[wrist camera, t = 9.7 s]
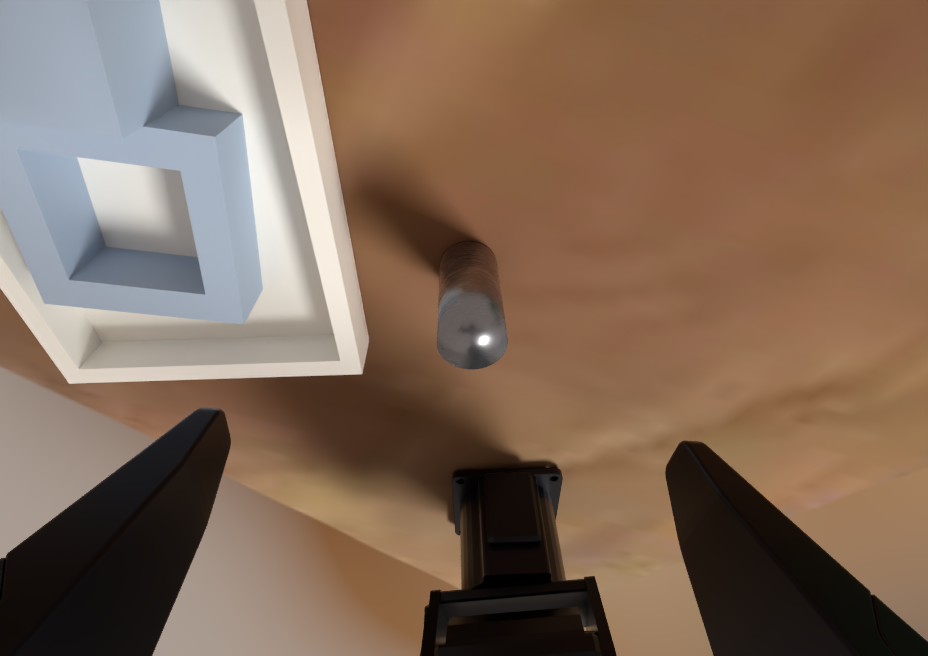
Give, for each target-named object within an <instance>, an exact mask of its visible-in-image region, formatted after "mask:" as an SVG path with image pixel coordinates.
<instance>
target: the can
mask: <svg viewBox="0 0 928 656" xmlns="http://www.w3.org/2000/svg"><path fill="white" fill-rule="evenodd" d="M507 344H508V338H507V331H506V324H505V317H504V310H503V302H502V295H501V288H500V281H499V274H498V267H497V261H496V258H495V255H494V254H493V252H492V251H491V250H490V249H489V248H488V247H486V246H485V245H483V244H481V243H478V242H473V241H465V242H460V243H457V244H455V245H453V246H451V247H450V248H449V249H447V250H446V252H445V253H444V254H443V256H442V258H441V261H440V275H439V304H438V332H437V347H438V350H439V352H440V354H441V356H442V357H443V358H444V359H445V360H446V361H447V362H448V363H450V364H452V365H454V366H456V367H459V368H463V369H479V368H484V367H487V366H489V365H491V364H493V363H495V362H496V361H498V360H499V359H500V358H501V357H502V356H503V354H504V353H505V351H506V348H507Z"/></svg>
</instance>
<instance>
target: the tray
mask: <svg viewBox="0 0 928 656" xmlns="http://www.w3.org/2000/svg"><path fill="white" fill-rule="evenodd" d="M159 1H160V7H161V12H162V17H163V22H164V28H165V33H166V38H167V44H168V49H169V54H170V59H171V65H172V70H173V75H174V81H175V86H176V91H177V96H178V102H179V105H184V106H191V107H198V108H204V109H211V110H218V111H225V112H231V113H238V114H243V122H244V130H245V139H246V148H247V156H248V165H249V173H250V182H251V191H252V199H253V208H254V216H255V225H256V234H257V242H258V251H259V259H260V268H261V276H262V285H263V290H262V292H261V294H260V296H259V298H258V299H257V301H256V303H255V305H254V307H253V309H252V310H251V312H250V314H249V316H248V318H247V320H246V322H245V323H244V324H236V323H226V322H216V321H207V320H197V319H187V318H177V317H168V316H158V315H148V314H139V313H129V312H119V311H110V310H100V309H90V308H81V307H71V306H61V305H52V304H44V302H43V300H42V298H41V295H40V293H39V291H38V289H37V287H36V284H35V282H34V280H33V278H32V275H31V273H30V271H29V269H28V267H27V264H26V262H25V260H24V258H23V255H22V253H21V251H20V249H19V247H18V244H17V242H16V240H15V238H14V236H13V233H12V231H11V229H10V227H9V224H8V222H7V220H6V218H5V216H4V213H3V211H2V209H1V207H0V288H1V290H2V291H3V292H4V294H5V295H6V297H7V298H8V299H9V301H10V302H11V304H12V305H13V306H14V308H15V309H16V310H17V312H18V313H19V315H20V316H21V317H22V319H23V320H24V322H25V323H26V324H27V326H28V327H29V328H30V330H31V331H32V333H33V334H34V335H35V337H36V338H37V340H38V341H39V342H40V344H41V345H42V347H43V348H44V349H45V351H46V352H47V353H48V355H49V356H50V358H51V359H52V360H53V362H54V363H55V365H56V366H57V367H58V369H59V370H60V371H61V373H62V374H63V376H64V377H65V378H66V380H67V381H68V383H69V384H71V383H103V382H134V381H166V380H198V379H229V378H261V377H292V376H324V375H355V374H362V373H363V369H364V364H365V359H366V354H367V349H368V344H369V336H368V331H367V325H366V320H365V314H364V309H363V303H362V298H361V293H360V287H359V282H358V276H357V271H356V266H355V260H354V255H353V249H352V244H351V239H350V233H349V228H348V222H347V217H346V211H345V206H344V201H343V195H342V190H341V184H340V179H339V174H338V168H337V163H336V157H335V152H334V146H333V141H332V136H331V130H330V125H329V119H328V114H327V109H326V103H325V98H324V92H323V87H322V82H321V76H320V71H319V65H318V60H317V54H316V49H315V44H314V38H313V33H312V27H311V22H310V17H309V11H308V6H307V0H159ZM77 159H78V162H79V165H80V168H81V171H82V174H83V177H84V180H85V183H86V186H87V190H88V193H89V196H90V199H91V202H92V205H93V208H94V211H95V214H96V217H97V220H98V223H99V226H100V229H101V232H102V235H103V238H104V241H105V244H106V247H114V248H122V249H131V250H140V251H148V252H157V253H165V254H174V255H183V256H191V257H198V255H197V250H196V245H195V240H194V235H193V230H192V226H191V221H190V216H189V211H188V206H187V201H186V196H185V191H184V186H183V181H182V176H181V171H177V170H170V169H162V168H155V167H148V166H140V165H133V164H125V163H118V162H110V161H103V160H95V159H88V158H80V157H77Z"/></svg>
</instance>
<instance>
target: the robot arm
mask: <svg viewBox="0 0 928 656" xmlns="http://www.w3.org/2000/svg"><path fill="white" fill-rule="evenodd" d="M230 445H231V438H230V433H229V429H228V425H227V421H226V417H225V413H224V412H223V410H221V409H215V408H199V409H197V410H195V411H194V412H193V413H191V414H190V415H189V416H187V417H186V418H185V419H183V420H182V421H181V422H180V423H178V424H177V425H176V426H174V427H173V428H172V429H170V430H169V431H168V432H166V433H165V434H164V435H162V436H161V437H160V438H159V439H157V440H156V441H155V442H153V443H152V444H151V445H149V446H148V447H147V448H145V449H144V450H143V451H141V452H140V453H139V454H137V455H136V456H135V457H134V458H132V459H131V460H130V461H128V462H127V463H126V464H124V465H123V466H122V467H120V468H119V469H118V470H116V471H115V472H114V473H113V474H111V475H110V476H109V477H107V478H106V479H105V480H103V481H102V482H101V483H99V484H98V485H97V486H96V487H94V488H93V489H92V490H90V491H89V492H88V493H86V494H85V495H84V496H82V497H81V498H80V499H79V500H77V501H76V502H74V503H73V504H72V505H70V506H69V507H68V508H67V509H65V510H64V511H63V512H61V513H60V514H59V515H58V516H56V517H55V518H53V519H52V520H51V521H49V522H48V523H47V524H45V525H44V526H43V527H42V528H40V529H39V530H38V531H37V532H35V533H34V534H32V535H31V536H30V537H28V538H27V539H26V540H24V541H23V542H22V543H20V544H19V545H18V546H17V547H15V548H14V549H13V550H11V551H10V552H9V553H8V554H7V555H6V558H1V559H0V656H152V655H153V652H154V650H155V647H156V645H157V643H158V641H159V638H160V636H161V633H162V631H163V629H164V626H165V624H166V622H167V619H168V617H169V615H170V612H171V610H172V607H173V605H174V603H175V601H176V598H177V596H178V593H179V591H180V589H181V586H182V584H183V582H184V579H185V577H186V574H187V572H188V570H189V567H190V565H191V563H192V560H193V558H194V556H195V553H196V550H197V549H198V546H199V544H200V542H201V539H202V537H203V534H204V531H205V529H206V526H207V524H208V520H209V518H210V514H211V511H212V508H213V504H214V501H215V498H216V494H217V491H218V487H219V484H220V480H221V477H222V474H223V471H224V467H225V464H226V460H227V457H228V454H229V450H230ZM665 473H666V481H667V486H668V491H669V496H670V501H671V506H672V511H673V516H674V521H675V526H676V531H677V536H678V540H679V544H680V549H681V552H682V556H683V559H684V562H685V565H686V569H687V572H688V575H689V578H690V581H691V584H692V588H693V591H694V594H695V598H696V601H697V604H698V607H699V610H700V614H701V617H702V620H703V623H704V626H705V629H706V633H707V636H708V639H709V642H710V646H711V649H712V652H713V655H714V656H928V641H926V640H925V639H924V638H923V637H922V636H921V635H920V634H918V633H917V632H916V631H915V630H914V629H913V628H911V627H910V626H909V625H908V624H907V623H906V622H905V621H903V620H902V619H901V618H900V617H899V616H897V615H896V614H895V613H894V612H893V611H892V610H891V609H890V608H889V607H887V606H886V605H885V604H884V603H883V602H882V601H881V600H880V599H878V598H877V597H876V596H875V595H871V593H870V591H869V590H868V589H867V588H866V587H865V586H864V585H863V584H862V583H860V582H859V581H858V580H857V579H856V578H855V577H854V576H853V575H851V574H850V573H849V572H848V571H847V570H846V569H845V568H844V567H842V566H841V565H840V564H839V563H838V562H837V561H836V560H835V559H833V558H832V557H831V556H830V555H829V554H828V553H827V552H826V551H825V550H823V549H822V548H821V547H820V546H819V545H818V544H817V543H816V542H814V541H813V540H812V539H811V538H810V537H809V536H808V535H807V534H805V533H804V532H803V531H802V530H801V529H800V528H799V527H798V526H797V525H795V524H794V523H793V522H792V521H791V520H790V519H789V518H788V517H786V516H785V515H784V514H783V513H782V512H781V511H780V510H779V509H777V508H776V507H775V506H774V505H773V504H772V503H771V502H770V501H768V500H767V499H766V498H765V497H764V496H763V495H762V494H761V493H760V492H758V491H757V490H756V489H755V488H754V487H753V486H752V485H751V484H749V483H748V482H747V481H746V480H745V479H744V478H743V477H742V476H740V475H739V474H738V473H737V472H736V471H735V470H734V469H733V468H732V467H730V466H729V465H728V464H727V463H726V462H725V461H724V460H723V459H721V458H720V457H719V456H718V455H717V454H716V453H715V452H714V451H712V450H711V449H710V448H709V447H708V446H707V445H706V444H704V443H702V442H698V441H682V442H680V443H679V445H678V446H677V448H676V450H675V451H674V453H673V455H672V457H671V458H670V460H669V462H668V464H667V466H666V472H665ZM562 479H563V478H562V473H561V470H560V469H558V468H534V469H503V470H471V471H457V472H454V473H453V474H452V490H453V505H454V520H455V532H456V534H458V535H461V590H454V591H443V592H442V591H441V590H432V591H431V592H430V601H429V605H427V606H426V607H425V616H424V617H425V618H424V631H423V639H422V648H421V653H420V656H616V652H615V648H614V644H613V641H612V637H611V634H610V630H609V626H608V623H607V619H606V616H605V612H604V608H603V605H602V602H601V598H600V594H599V591H598V587H597V583H596V580H595V577H594V576H589V577H584V579H577V580H566V577H565V572H564V566H563V561H562V555H561V550H560V544H559V538H558V533H557V527H556V522H555V521H556V515H557V509H558V503H559V497H560V491H561V485H562ZM583 627H586V630H587V631H584V628H583Z"/></svg>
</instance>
